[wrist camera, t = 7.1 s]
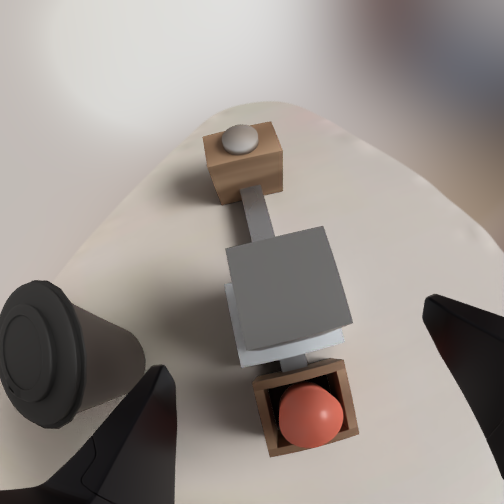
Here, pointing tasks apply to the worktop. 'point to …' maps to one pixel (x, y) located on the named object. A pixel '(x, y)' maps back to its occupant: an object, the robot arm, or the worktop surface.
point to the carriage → (285, 297)
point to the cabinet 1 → (244, 160)
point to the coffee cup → (62, 356)
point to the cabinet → (329, 367)
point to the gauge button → (309, 415)
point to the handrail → (260, 231)
